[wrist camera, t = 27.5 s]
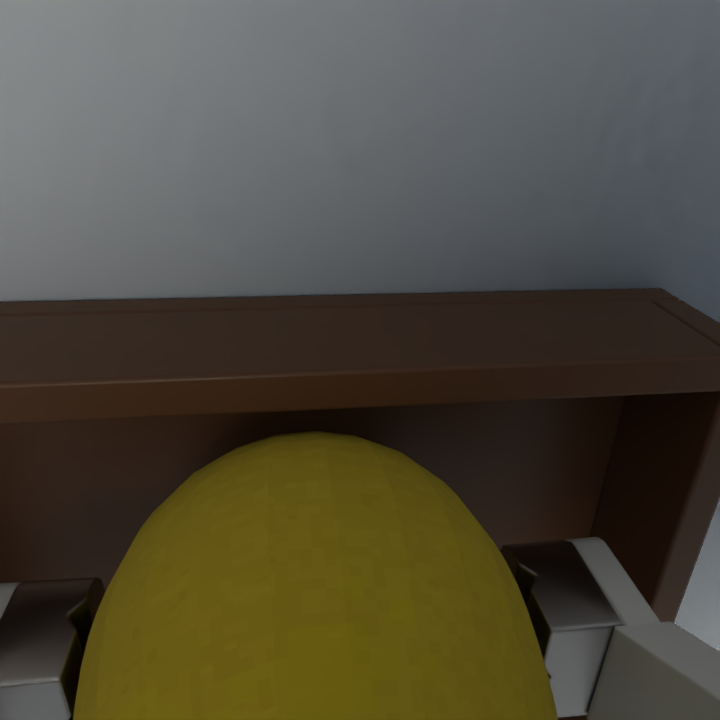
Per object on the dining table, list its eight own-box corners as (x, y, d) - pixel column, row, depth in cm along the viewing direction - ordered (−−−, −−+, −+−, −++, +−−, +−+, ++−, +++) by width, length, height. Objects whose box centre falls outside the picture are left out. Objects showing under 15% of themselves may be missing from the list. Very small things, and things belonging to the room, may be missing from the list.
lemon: (342, 620, 13) (431, 1293, 6) (90, 527, 11) (-223, 1366, 4) (506, 430, 11) (901, 1053, 4) (243, 280, 9) (172, 975, 2)
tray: (662, 286, 11) (774, 354, 9) (523, 815, 19) (561, 931, 16) (-134, 303, 9) (-277, 394, 7) (71, 878, 17) (39, 1018, 15)
